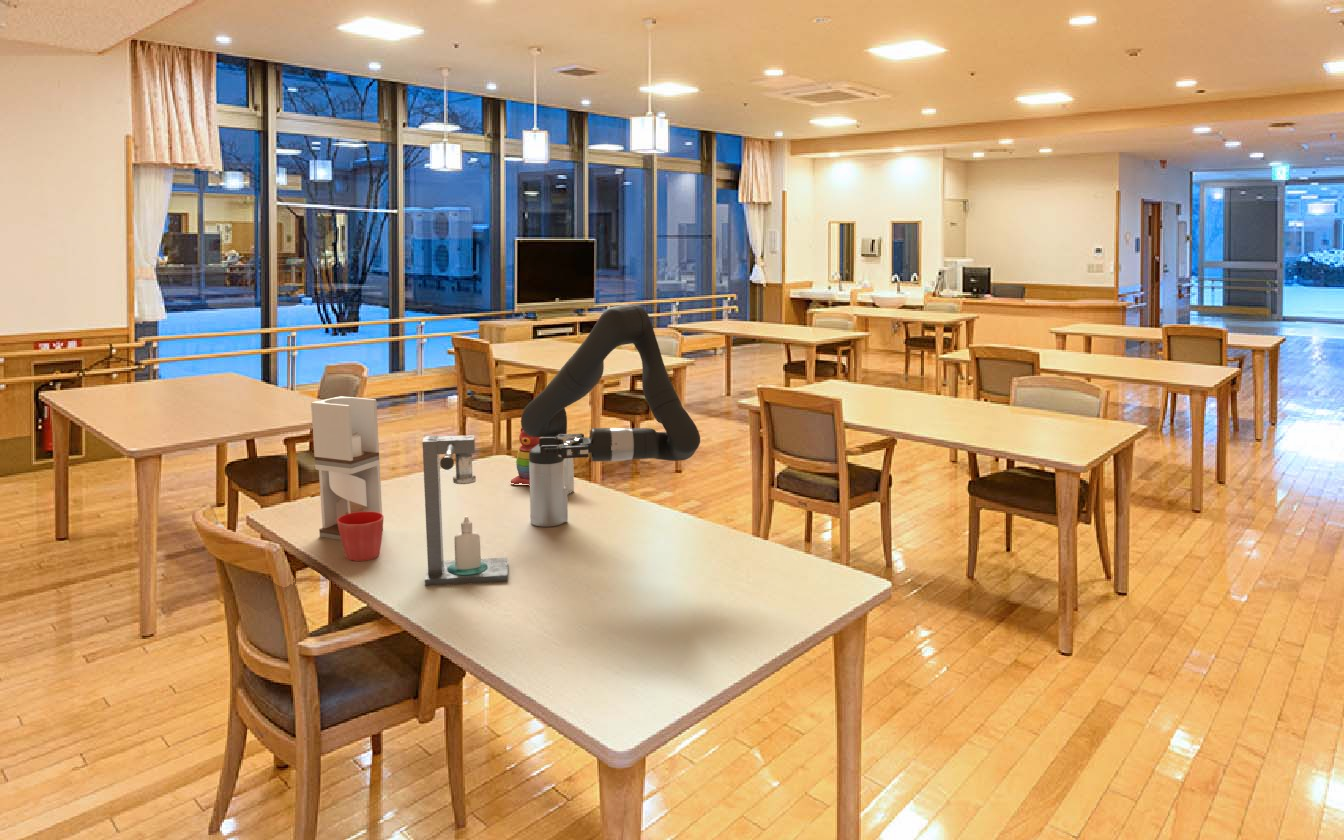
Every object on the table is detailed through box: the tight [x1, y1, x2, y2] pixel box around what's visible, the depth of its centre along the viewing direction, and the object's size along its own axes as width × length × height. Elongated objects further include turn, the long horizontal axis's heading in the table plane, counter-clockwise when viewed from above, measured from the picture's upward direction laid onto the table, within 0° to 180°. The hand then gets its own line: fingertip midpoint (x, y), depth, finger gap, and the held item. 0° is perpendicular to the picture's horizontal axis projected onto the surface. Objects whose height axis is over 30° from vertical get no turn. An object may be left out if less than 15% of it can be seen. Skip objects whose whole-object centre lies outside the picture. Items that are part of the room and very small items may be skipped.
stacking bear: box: [510, 427, 541, 485], centre depth 295 cm, size 11×10×18 cm
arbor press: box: [421, 434, 509, 587], centre depth 207 cm, size 18×25×32 cm
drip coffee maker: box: [310, 395, 384, 541], centre depth 241 cm, size 11×11×35 cm
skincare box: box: [564, 458, 575, 495], centre depth 285 cm, size 6×4×12 cm
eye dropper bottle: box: [453, 515, 482, 570], centre depth 214 cm, size 4×6×12 cm
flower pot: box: [337, 511, 384, 562], centre depth 227 cm, size 11×11×10 cm
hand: (539, 446), depth 211 cm, fingers open, 8 cm apart
